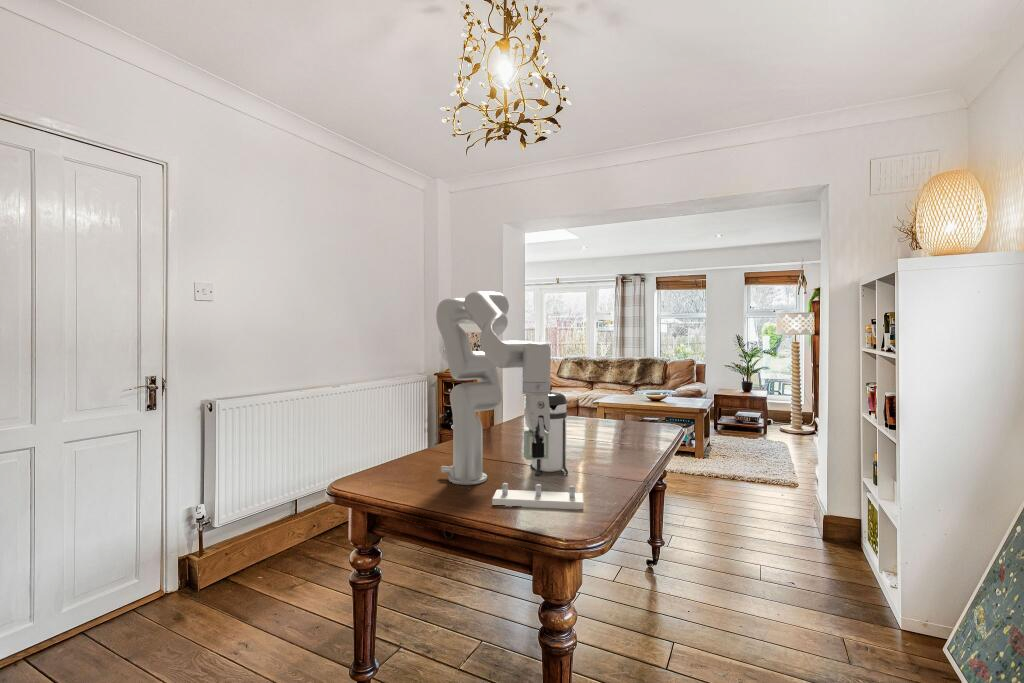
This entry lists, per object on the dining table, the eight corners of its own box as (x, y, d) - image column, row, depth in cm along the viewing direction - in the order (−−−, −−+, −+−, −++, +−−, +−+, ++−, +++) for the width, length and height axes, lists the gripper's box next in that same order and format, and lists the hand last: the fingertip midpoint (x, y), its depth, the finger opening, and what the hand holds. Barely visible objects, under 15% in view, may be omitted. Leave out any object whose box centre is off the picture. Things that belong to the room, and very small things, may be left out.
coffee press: (580, 470, 174) (580, 384, 174) (552, 480, 162) (553, 388, 162) (541, 461, 186) (541, 381, 185) (513, 470, 174) (513, 384, 173)
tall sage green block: (526, 459, 133) (526, 433, 133) (523, 456, 136) (523, 431, 136) (548, 458, 134) (548, 432, 134) (544, 455, 138) (545, 430, 137)
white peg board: (492, 505, 139) (492, 487, 139) (496, 496, 147) (496, 479, 147) (583, 509, 136) (583, 491, 136) (582, 499, 144) (582, 482, 144)
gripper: (558, 391, 127) (558, 462, 128) (542, 384, 144) (541, 447, 144) (529, 392, 126) (529, 464, 126) (516, 384, 142) (516, 448, 143)
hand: (536, 454), depth 135 cm, fingers closed on tall sage green block, 3 cm apart
